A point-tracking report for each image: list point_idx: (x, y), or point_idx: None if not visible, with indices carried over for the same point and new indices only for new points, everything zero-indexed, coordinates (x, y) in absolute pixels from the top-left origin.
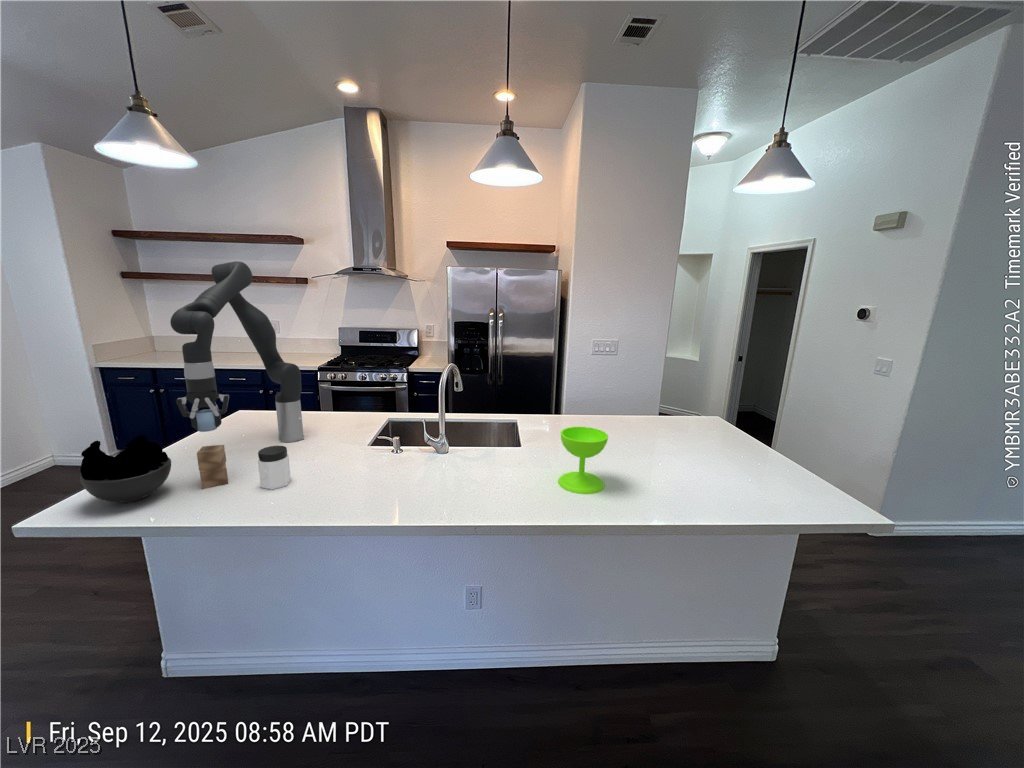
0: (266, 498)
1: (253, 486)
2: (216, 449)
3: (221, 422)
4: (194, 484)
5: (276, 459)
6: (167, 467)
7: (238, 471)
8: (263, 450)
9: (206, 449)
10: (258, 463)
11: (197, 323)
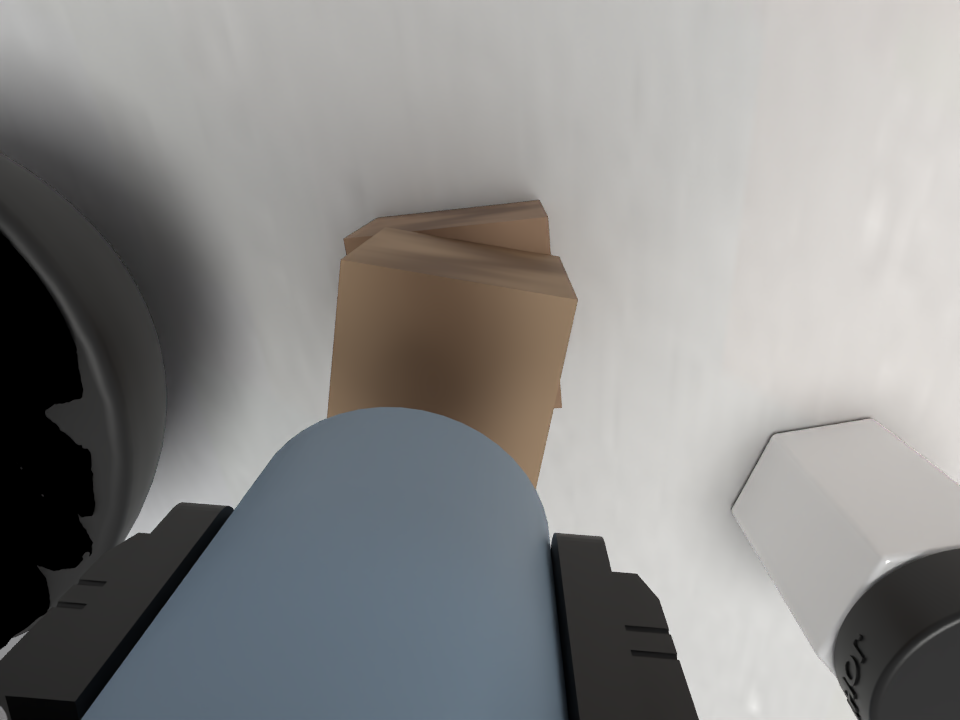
0: (736, 648)
1: (692, 469)
2: (505, 447)
3: (656, 617)
4: (340, 257)
5: None
6: (139, 479)
7: (618, 132)
8: (928, 684)
9: (402, 398)
10: (809, 642)
11: None
